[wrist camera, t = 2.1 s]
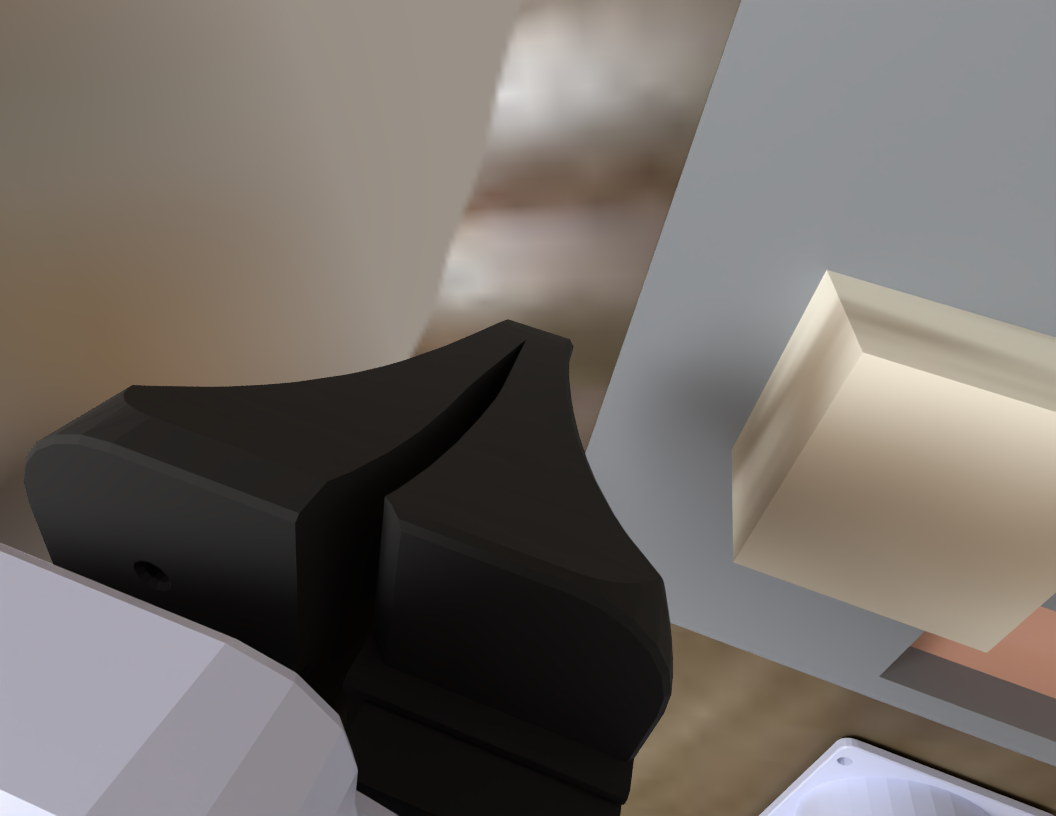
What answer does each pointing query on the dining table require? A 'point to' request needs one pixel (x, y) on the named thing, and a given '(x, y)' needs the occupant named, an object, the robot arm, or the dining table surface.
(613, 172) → the dining table surface
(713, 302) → the board
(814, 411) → the cream block
